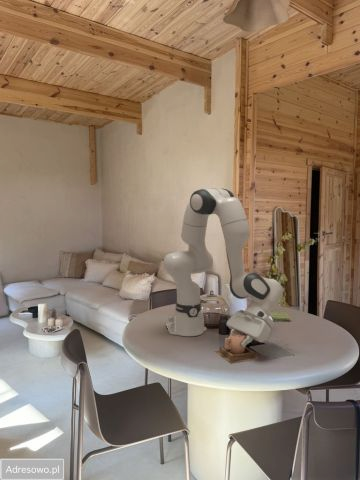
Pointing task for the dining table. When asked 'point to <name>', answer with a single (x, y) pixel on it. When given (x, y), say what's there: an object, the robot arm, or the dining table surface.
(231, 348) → the orange mug
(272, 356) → the charcoal board
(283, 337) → the dining table surface
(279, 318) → the washcloth
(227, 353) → the walnut stand
